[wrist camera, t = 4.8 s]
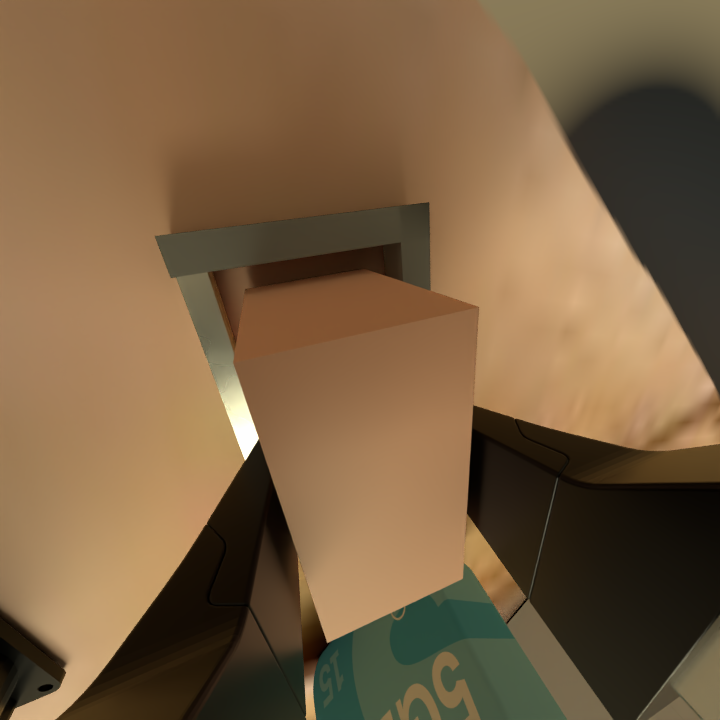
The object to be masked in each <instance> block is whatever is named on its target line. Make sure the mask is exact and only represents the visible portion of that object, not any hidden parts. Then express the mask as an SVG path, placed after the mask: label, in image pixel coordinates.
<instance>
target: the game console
mask: <svg viewBox="0 0 720 720" xmlns="http://www.w3.org/2000/svg"><path fill="white" fill-rule="evenodd" d="M529 600H530V599H528V600H527V601H526V602H525V604H524V605H523V606H522V607H521V608H520V610H519V611H518V612H517V613H516V614H515V616H514V617H513V618H512V619H511V620H510V622H509V623H508V624H507V626H508V628H509V629H510V631H511V632H512V634H513V636H514V637H515V639H516V640H517V642H518V643H519V645H520V647H521V648H522V650H523V651H524V653H525V654H526V656H527V657H528V659H529V661H530V662H531V664H532V665H533V667H534V668H535V670H536V672H537V673H538V675H539V676H540V678H541V679H542V681H543V682H544V684H545V686H546V687H547V689H548V690H549V692H550V693H551V695H552V696H553V698H554V700H555V701H556V703H557V704H558V706H559V707H560V709H561V711H562V712H563V714H564V715H565V717H566V718H567V720H613V719H612V717H611V716H610V714H609V713H608V711H607V710H606V709H605V707H604V706H603V704H602V703H601V702H600V700H599V699H598V697H597V696H596V695H595V693H594V692H593V690H592V689H591V688H590V686H589V685H588V683H587V682H586V681H585V679H584V678H583V676H582V675H581V673H580V672H579V671H578V669H577V668H576V666H575V665H574V664H573V662H572V661H571V659H570V658H569V657H568V655H567V654H566V652H565V651H564V650H563V648H562V647H561V645H560V644H559V642H558V641H557V640H556V638H555V637H554V635H553V634H552V633H551V631H550V630H549V628H548V627H547V626H546V624H545V623H544V621H543V620H542V619H541V617H540V616H539V614H538V613H537V612H536V610H535V609H534V607H533V606H532V604H531V603H530V601H529ZM648 720H701V719H700V718H699V717H698V716H697V715H696V713H695V712H694V711H693V710H692V709H691V708H690V707H689V706H688V705H687V704H686V703H685V701H684V700H683V699H682V698H681V697H678V698H677V699H676V700H674V701H673V702H671V703H670V704H669V705H667V706H666V707H665V708H663V709H662V710H660V711H659V712H658V713H656V714H655V715H654V716H652V717H651V718H649V719H648Z"/></svg>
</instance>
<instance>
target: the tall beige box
mask: <svg viewBox="0 0 720 720" xmlns="http://www.w3.org/2000/svg"><path fill="white" fill-rule="evenodd" d="M478 316H479V307H477V306H474V305H471V304H468V303H465V302H462V301H459V300H456V299H453V298H450V297H447V296H444V295H441V294H438V293H435V292H432V291H429V290H427V289H424V288H421V287H418V286H415V285H412V284H409V283H406V282H403V281H400V280H397V279H394V278H391V277H388V276H385V275H382V274H379V273H376V272H373V271H370V270H367V269H360V270H354V271H348V272H342V273H336V274H331V275H325V276H319V277H313V278H307V279H302V280H296V281H290V282H284V283H278V284H273V285H267V286H261V287H255V288H249V289H245V294H244V300H243V306H242V312H241V318H240V324H239V330H238V336H237V342H236V348H235V354H234V360H233V364H234V367H235V370H236V373H237V376H238V379H239V382H240V385H241V388H242V391H243V394H244V397H245V400H246V403H247V406H248V409H249V412H250V414H251V417H252V420H253V423H254V426H255V429H256V432H257V435H258V438H259V441H260V444H261V447H262V450H263V453H264V456H265V459H266V462H267V465H268V468H269V471H270V474H271V477H272V480H273V483H274V486H275V489H276V492H277V495H278V498H279V501H280V504H281V507H282V510H283V512H284V515H285V518H286V521H287V524H288V527H289V530H290V533H291V536H292V539H293V542H294V545H295V548H296V551H297V554H298V557H299V560H300V563H301V566H302V569H303V572H304V575H305V578H306V581H307V584H308V587H309V590H310V593H311V596H312V599H313V602H314V605H315V608H316V611H317V613H318V616H319V619H320V622H321V625H322V628H323V631H324V634H325V637H326V640H327V643H328V642H331V641H333V640H335V639H337V638H339V637H341V636H343V635H345V634H347V633H350V632H352V631H354V630H356V629H358V628H360V627H362V626H364V625H366V624H369V623H371V622H373V621H375V620H377V619H379V618H381V617H383V616H385V615H388V614H390V613H392V612H394V611H396V610H398V609H400V608H402V607H404V606H407V605H409V604H411V603H413V602H415V601H417V600H419V599H421V598H423V597H426V596H428V595H430V594H432V593H434V592H436V591H438V590H440V589H442V588H445V587H447V586H449V585H451V584H453V583H455V582H457V581H459V580H461V579H463V568H464V551H465V534H466V517H467V500H468V484H469V467H470V450H471V433H472V416H473V400H474V383H475V366H476V349H477V332H478Z"/></svg>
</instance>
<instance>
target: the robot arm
mask: <svg viewBox="0 0 720 720" xmlns="http://www.w3.org/2000/svg"><path fill="white" fill-rule="evenodd" d="M467 514H468V515H469V517H470V518H471V520H472V521H473V523H474V524H475V525H476V527H477V528H478V530H479V531H480V532H481V534H482V535H483V537H484V538H485V539H486V541H487V542H488V544H489V545H490V546H491V548H492V549H493V551H494V552H495V553H496V555H497V556H498V558H499V559H500V561H501V562H502V563H503V565H504V566H505V568H506V569H507V570H508V572H509V573H510V575H511V576H512V577H513V579H514V580H515V582H516V583H517V584H518V586H519V587H520V589H521V590H522V591H523V593H524V594H525V596H526V597H527V598H528V599H530V600H529V601H530V603H531V604H532V606H533V607H534V609H535V610H536V612H537V613H538V614H539V616H540V617H541V619H542V620H543V621H544V623H545V624H546V626H547V627H548V628H549V630H550V631H551V633H552V634H553V635H554V637H555V638H556V640H557V641H558V642H559V644H560V645H561V647H562V648H563V650H564V651H565V652H566V654H567V655H568V657H569V658H570V659H571V661H572V662H573V664H574V665H575V666H576V668H577V669H578V671H579V672H580V673H581V675H582V676H583V678H584V679H585V681H586V682H587V683H588V685H589V686H590V688H591V689H592V690H593V692H594V693H595V695H596V696H597V697H598V699H599V700H600V702H601V703H602V704H603V706H604V707H605V709H606V710H607V711H608V713H609V714H610V716H611V717H612V719H613V720H648V719H649V718H651V717H652V716H654V715H655V714H656V713H658V712H659V711H660V710H662V709H663V708H665V707H666V706H667V705H669V704H670V703H671V702H673V701H674V700H676V699H677V698H678V697H681V698H682V699H683V700H684V701H685V703H686V704H687V705H688V706H689V707H690V708H691V709H692V710H693V711H694V712H695V713H696V715H697V716H698V717H699V718H700V719H701V720H720V444H717V445H710V446H702V447H695V448H687V449H680V450H672V451H644V450H637V449H632V448H627V447H623V446H619V445H614V444H610V443H606V442H602V441H598V440H594V439H590V438H586V437H582V436H578V435H573V434H569V433H566V432H562V431H558V430H554V429H550V428H546V427H543V426H539V425H536V424H532V423H529V422H526V421H523V420H519V419H514V418H513V417H510V416H506V415H503V414H500V413H497V412H493V411H490V410H487V409H483V408H480V407H477V406H474V405H473V416H472V433H471V450H470V467H469V484H468V500H467ZM65 674H66V672H65V670H64V669H63V668H61V667H60V666H59V665H58V664H56V663H55V662H54V661H53V660H51V659H50V658H49V657H48V656H47V655H45V654H44V653H43V652H42V651H40V650H39V649H38V648H37V647H35V646H34V645H33V644H32V643H31V642H29V641H28V640H27V639H26V638H24V637H23V636H22V635H21V634H20V633H18V632H17V631H16V630H15V629H13V628H12V627H11V626H10V625H8V624H7V623H6V622H5V621H4V620H2V619H1V618H0V720H9V719H10V717H11V715H12V713H13V711H14V709H15V708H17V707H19V706H22V705H24V704H26V703H29V702H31V701H34V700H36V699H38V698H41V697H43V696H46V695H48V694H50V693H53V692H54V691H56V690H58V689H59V688H60V686H61V684H62V681H63V679H64V677H65ZM305 716H306V704H305V685H304V666H303V647H302V629H301V610H300V591H299V573H298V554H297V551H296V548H295V545H294V542H293V539H292V536H291V533H290V530H289V527H288V524H287V521H286V518H285V515H284V512H283V510H282V507H281V504H280V501H279V498H278V495H277V492H276V489H275V486H274V483H273V480H272V477H271V474H270V471H269V468H268V465H267V462H266V459H265V456H264V453H263V450H262V447H261V444H260V441H259V439H258V440H257V442H256V444H255V445H254V447H253V448H252V450H251V452H250V453H249V455H248V457H247V458H246V460H245V461H244V463H243V465H242V466H241V468H240V470H239V471H238V473H237V474H236V476H235V478H234V479H233V481H232V483H231V484H230V486H229V487H228V489H227V491H226V492H225V494H224V496H223V497H222V499H221V501H220V502H219V504H218V505H217V507H216V509H215V510H214V512H213V514H212V515H211V517H210V518H209V520H208V522H207V525H205V526H204V528H203V530H202V531H201V533H200V534H199V536H198V538H197V539H196V541H195V542H194V544H193V545H192V547H191V549H190V550H189V552H188V553H187V555H186V556H185V558H184V559H183V561H182V562H181V564H180V565H179V567H178V568H177V569H176V571H175V572H174V574H173V575H172V577H171V578H170V579H169V581H168V582H167V584H166V585H165V586H164V588H163V589H162V591H161V592H160V593H159V595H158V596H157V597H156V599H155V600H154V601H153V603H152V604H151V606H150V607H149V608H148V610H147V611H146V612H145V614H144V615H143V616H142V618H141V619H140V620H139V622H138V623H137V625H136V626H135V627H134V629H133V630H132V631H131V633H130V634H129V635H128V637H127V638H126V640H125V641H124V642H123V644H122V645H121V646H120V648H119V649H118V650H117V652H116V653H115V654H114V656H113V657H112V659H111V660H110V661H109V663H108V664H107V665H106V666H105V668H104V669H103V670H102V672H101V673H100V674H99V675H98V677H97V678H96V679H95V680H94V681H93V683H92V684H91V685H90V686H89V687H88V688H87V690H86V691H85V692H84V693H83V694H82V695H81V696H80V697H79V698H78V699H77V700H76V701H75V702H74V703H73V704H72V705H71V706H70V707H69V708H68V709H67V710H66V711H65V712H64V713H63V714H61V715H60V716H59V717H58V718H57V719H56V720H306V718H305Z"/></svg>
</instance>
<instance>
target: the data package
mask: <svg viewBox="0 0 720 720" xmlns="http://www.w3.org/2000/svg"><path fill="white" fill-rule="evenodd" d="M313 694H314V705H315V713H316V720H567V718H566V717H565V715H564V714H563V712H562V711H561V709H560V707H559V706H558V704H557V703H556V701H555V700H554V698H553V696H552V695H551V693H550V692H549V690H548V689H547V687H546V686H545V684H544V682H543V681H542V679H541V678H540V676H539V675H538V673H537V672H536V670H535V668H534V667H533V665H532V664H531V662H530V661H529V659H528V657H527V656H526V654H525V653H524V651H523V650H522V648H521V647H520V645H519V643H518V642H517V640H516V639H515V637H514V636H513V634H512V632H511V631H510V629H509V628H508V626H507V625H506V623H505V622H504V620H503V618H502V617H501V615H500V614H499V612H498V611H497V609H496V607H495V606H494V604H493V603H492V601H491V600H490V598H489V597H488V595H487V593H486V592H485V590H484V589H483V587H482V586H481V584H480V583H479V581H478V579H477V578H476V576H475V575H474V573H473V572H472V570H471V569H470V568H469V567H468V566H467V565H465V564H464V568H463V579H461V580H459V581H457V582H455V583H453V584H451V585H449V586H447V587H445V588H442V589H440V590H438V591H436V592H434V593H432V594H430V595H428V596H426V597H423V598H421V599H419V600H417V601H415V602H413V603H411V604H409V605H407V606H404V607H402V608H400V609H398V610H396V611H394V612H392V613H390V614H388V615H385V616H383V617H381V618H379V619H377V620H375V621H373V622H371V623H369V624H366V625H364V626H362V627H360V628H358V629H356V630H354V631H352V632H350V633H347V634H345V635H343V636H341V637H339V638H337V639H335V640H333V641H332V642H331V643H330V644H329V645H328V646H327V648H326V649H325V650H324V651H323V653H322V654H321V656H320V658H319V660H318V663H317V666H316V670H315V676H314V686H313Z"/></svg>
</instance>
